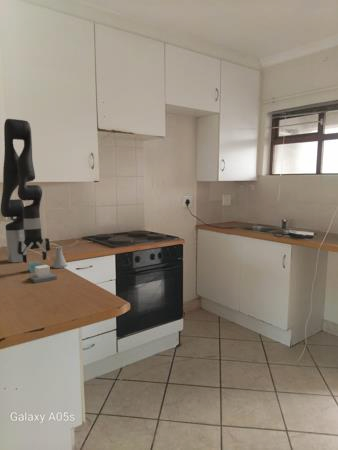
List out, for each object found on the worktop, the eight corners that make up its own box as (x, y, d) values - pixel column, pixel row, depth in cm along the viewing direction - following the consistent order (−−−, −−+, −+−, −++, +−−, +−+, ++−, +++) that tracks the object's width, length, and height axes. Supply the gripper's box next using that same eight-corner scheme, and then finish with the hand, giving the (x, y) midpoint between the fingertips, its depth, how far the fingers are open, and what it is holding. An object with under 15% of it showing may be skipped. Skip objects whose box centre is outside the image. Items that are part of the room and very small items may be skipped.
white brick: (35, 275, 144) (34, 266, 144) (46, 273, 147) (46, 264, 147) (38, 277, 140) (38, 268, 140) (50, 275, 143) (49, 266, 143)
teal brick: (28, 270, 158) (28, 262, 157) (39, 269, 161) (38, 261, 160) (30, 273, 154) (30, 264, 153) (41, 271, 157) (41, 263, 156)
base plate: (29, 278, 145) (29, 274, 145) (50, 274, 150) (49, 271, 150) (35, 283, 138) (35, 279, 138) (56, 279, 143) (56, 275, 143)
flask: (52, 265, 167) (51, 246, 165) (67, 264, 169) (66, 245, 168) (52, 269, 160) (51, 249, 159) (67, 267, 162) (66, 248, 161)
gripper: (45, 225, 162) (47, 257, 163) (14, 228, 153) (17, 262, 155) (50, 226, 156) (52, 260, 158) (18, 229, 147) (20, 264, 149)
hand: (34, 261), depth 156 cm, fingers open, 8 cm apart
